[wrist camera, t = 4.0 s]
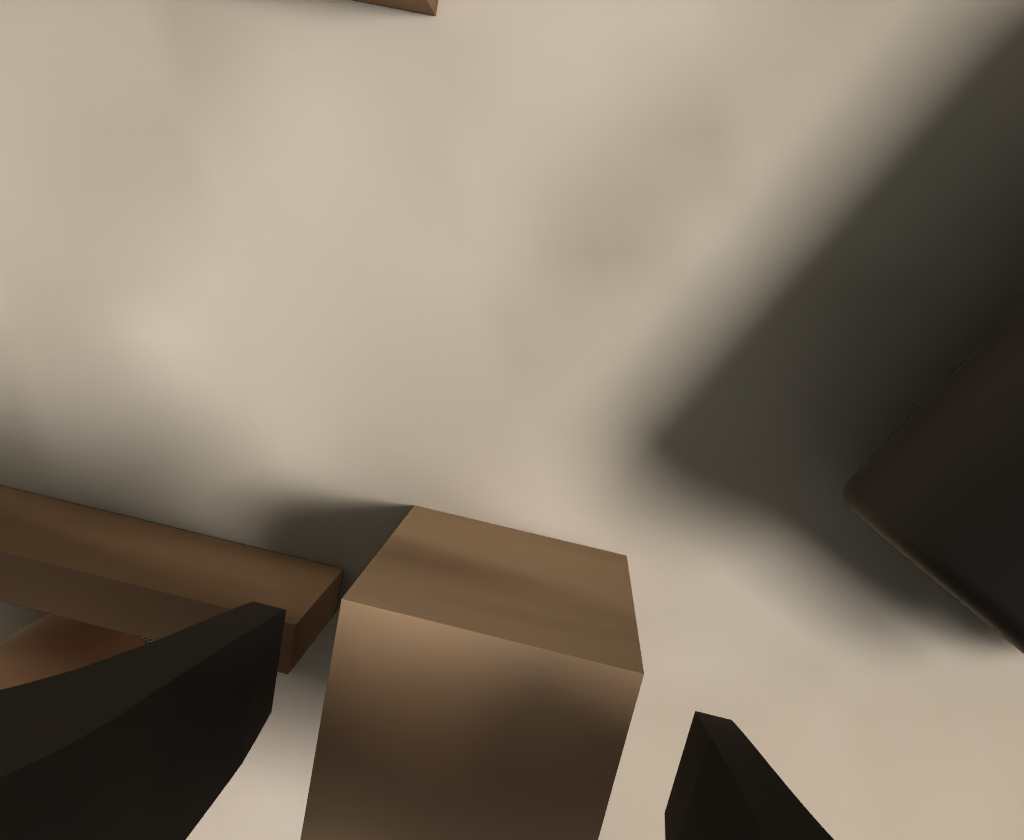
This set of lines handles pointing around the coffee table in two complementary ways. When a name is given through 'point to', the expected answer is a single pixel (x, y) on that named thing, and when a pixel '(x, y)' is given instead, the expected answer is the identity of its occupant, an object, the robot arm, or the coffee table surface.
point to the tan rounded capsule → (58, 648)
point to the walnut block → (476, 688)
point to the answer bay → (156, 562)
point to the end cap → (960, 482)
